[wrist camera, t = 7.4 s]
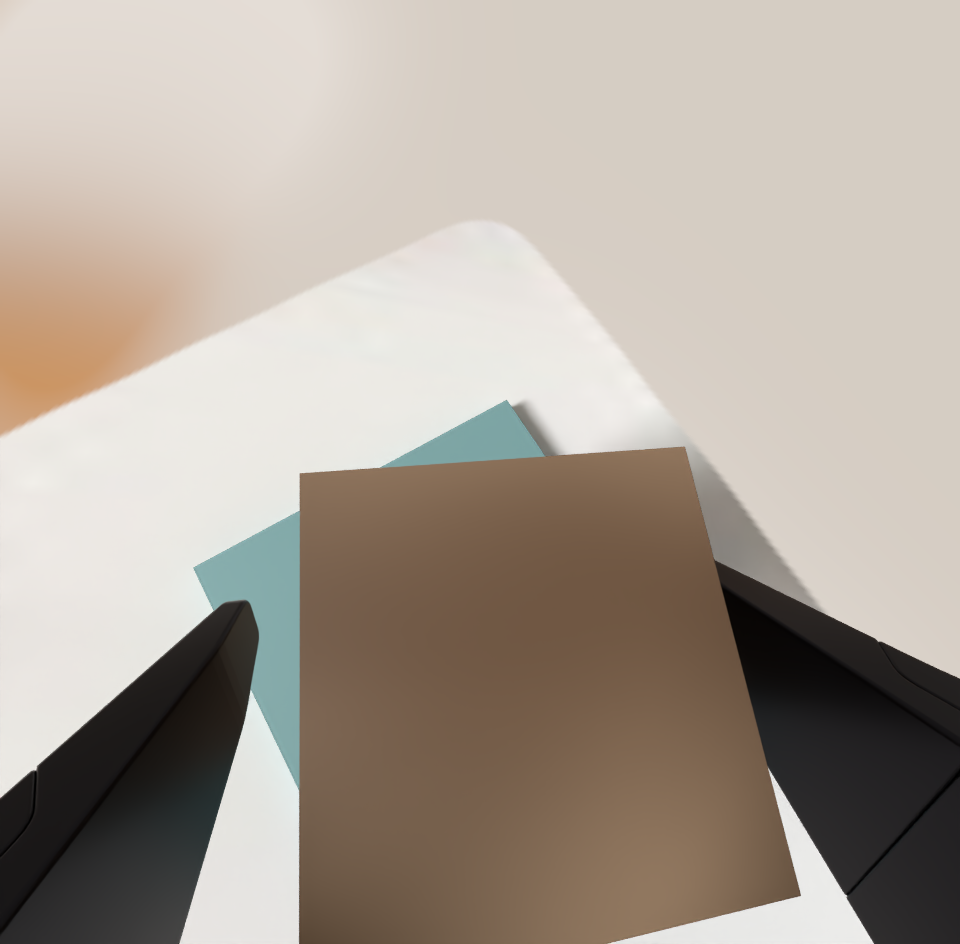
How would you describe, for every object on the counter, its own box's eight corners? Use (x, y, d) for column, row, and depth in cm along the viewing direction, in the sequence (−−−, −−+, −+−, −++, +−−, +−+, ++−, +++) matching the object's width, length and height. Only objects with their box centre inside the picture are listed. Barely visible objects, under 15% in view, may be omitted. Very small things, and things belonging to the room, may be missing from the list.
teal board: (687, 681, 18) (701, 685, 17) (383, 938, 15) (380, 961, 14) (502, 409, 21) (506, 399, 20) (205, 569, 17) (193, 567, 16)
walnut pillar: (528, 690, 16) (801, 896, 5) (391, 710, 16) (299, 1019, 4) (510, 554, 18) (684, 446, 6) (384, 567, 17) (299, 473, 5)
